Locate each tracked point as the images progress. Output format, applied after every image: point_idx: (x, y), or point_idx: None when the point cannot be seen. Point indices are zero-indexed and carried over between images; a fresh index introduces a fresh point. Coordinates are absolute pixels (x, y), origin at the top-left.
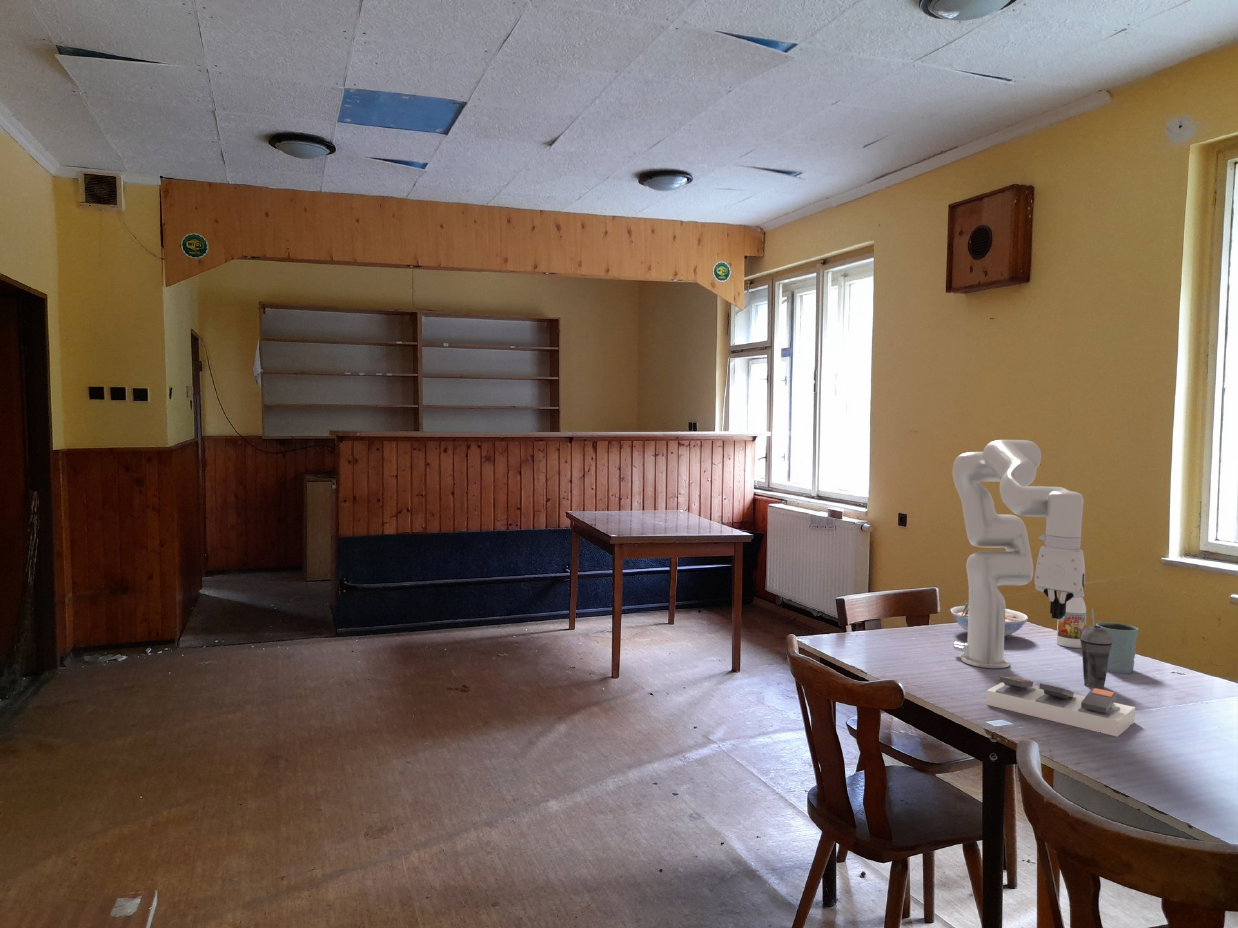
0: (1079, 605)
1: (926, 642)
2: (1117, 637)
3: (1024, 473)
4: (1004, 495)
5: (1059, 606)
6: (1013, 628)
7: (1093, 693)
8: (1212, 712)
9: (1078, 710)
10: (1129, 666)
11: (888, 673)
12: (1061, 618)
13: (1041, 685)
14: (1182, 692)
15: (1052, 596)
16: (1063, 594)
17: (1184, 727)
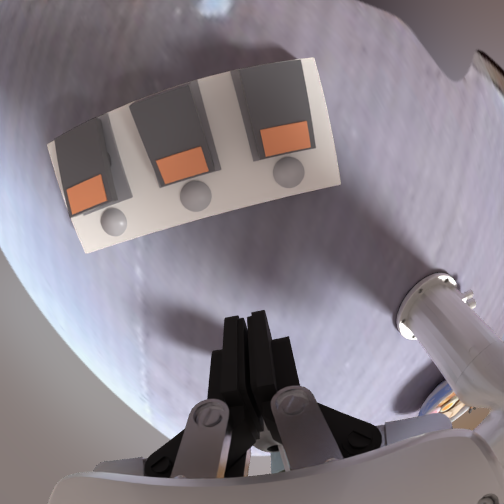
0: None
1: (493, 305)
2: (286, 457)
3: None
4: None
5: (222, 374)
6: (424, 408)
7: (97, 176)
8: (109, 374)
9: (106, 114)
10: None
11: (484, 108)
12: None
13: (183, 85)
14: (183, 412)
15: (288, 422)
16: (197, 463)
17: (65, 289)
